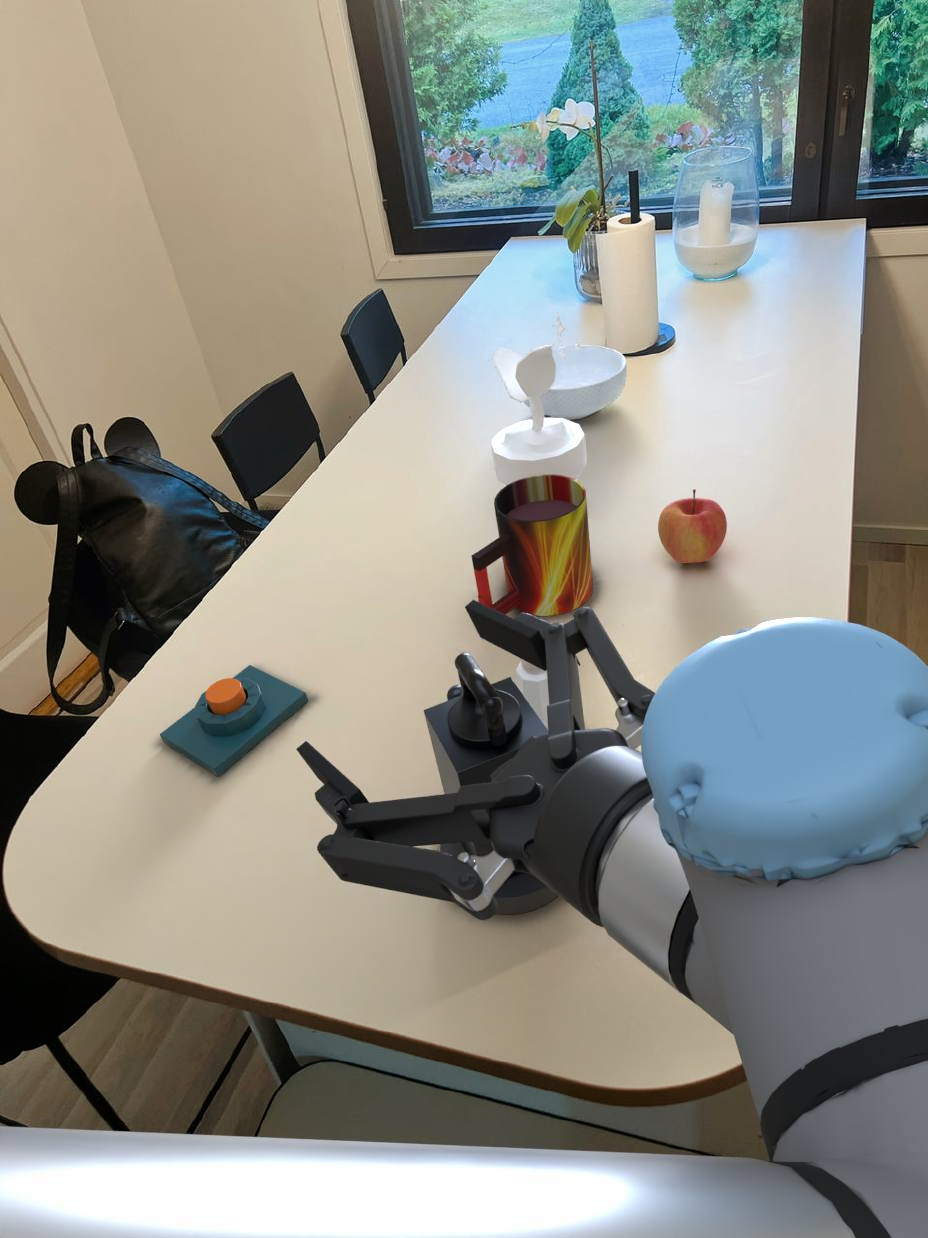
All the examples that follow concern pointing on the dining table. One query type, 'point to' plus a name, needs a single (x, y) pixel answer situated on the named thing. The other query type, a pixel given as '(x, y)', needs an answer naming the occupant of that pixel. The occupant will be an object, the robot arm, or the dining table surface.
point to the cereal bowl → (584, 381)
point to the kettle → (479, 731)
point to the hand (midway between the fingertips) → (397, 686)
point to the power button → (225, 696)
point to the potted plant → (535, 420)
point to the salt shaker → (534, 688)
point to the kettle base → (513, 889)
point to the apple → (692, 529)
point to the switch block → (234, 722)
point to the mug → (539, 547)
